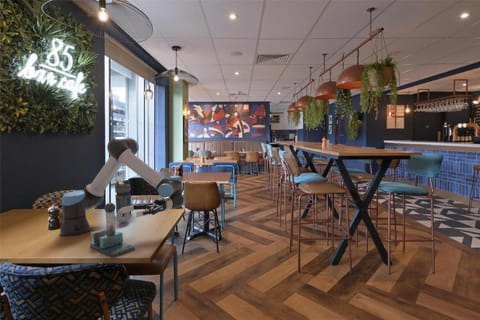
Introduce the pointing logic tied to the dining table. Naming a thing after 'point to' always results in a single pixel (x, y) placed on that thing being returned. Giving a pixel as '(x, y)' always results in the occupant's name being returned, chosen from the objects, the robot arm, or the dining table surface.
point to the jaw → (110, 228)
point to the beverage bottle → (123, 195)
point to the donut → (125, 218)
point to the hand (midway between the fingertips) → (129, 212)
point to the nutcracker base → (111, 250)
